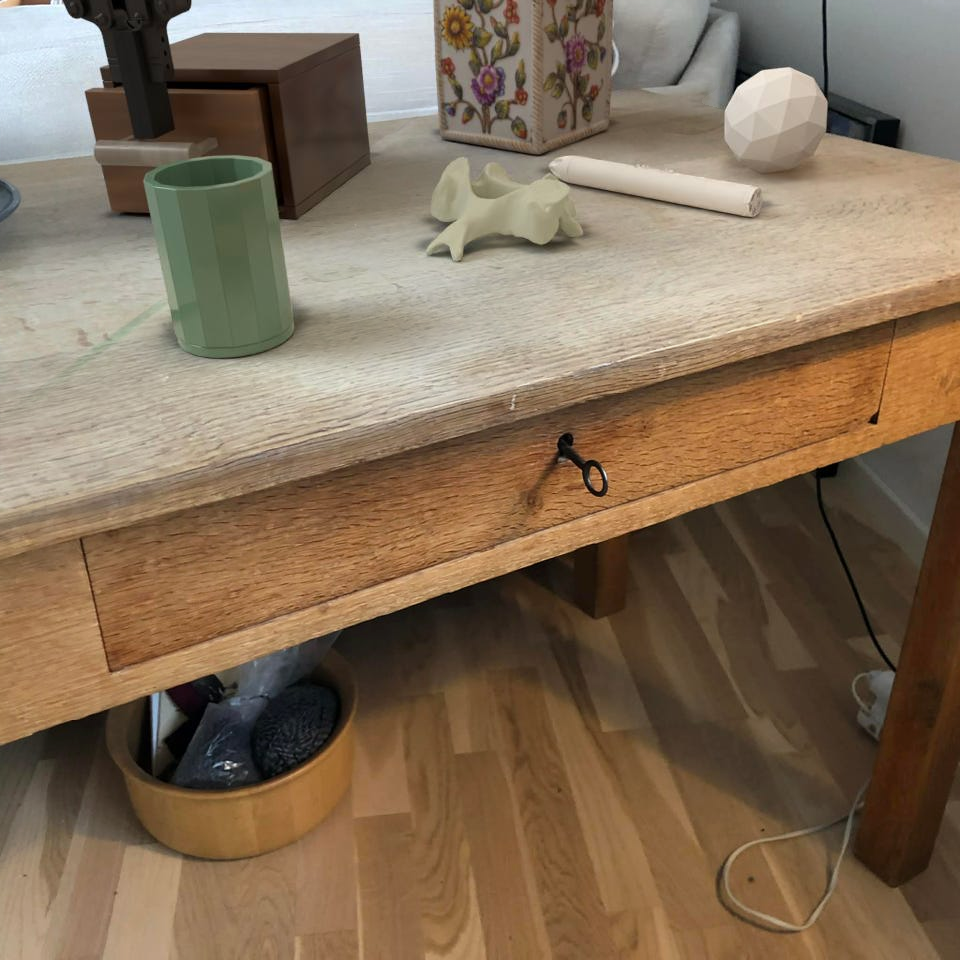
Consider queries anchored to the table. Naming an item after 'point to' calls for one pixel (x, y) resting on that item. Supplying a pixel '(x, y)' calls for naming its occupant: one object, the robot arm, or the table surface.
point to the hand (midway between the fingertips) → (155, 133)
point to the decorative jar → (523, 71)
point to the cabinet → (292, 101)
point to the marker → (660, 184)
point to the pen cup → (221, 254)
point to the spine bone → (499, 207)
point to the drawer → (180, 134)
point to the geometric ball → (775, 120)
